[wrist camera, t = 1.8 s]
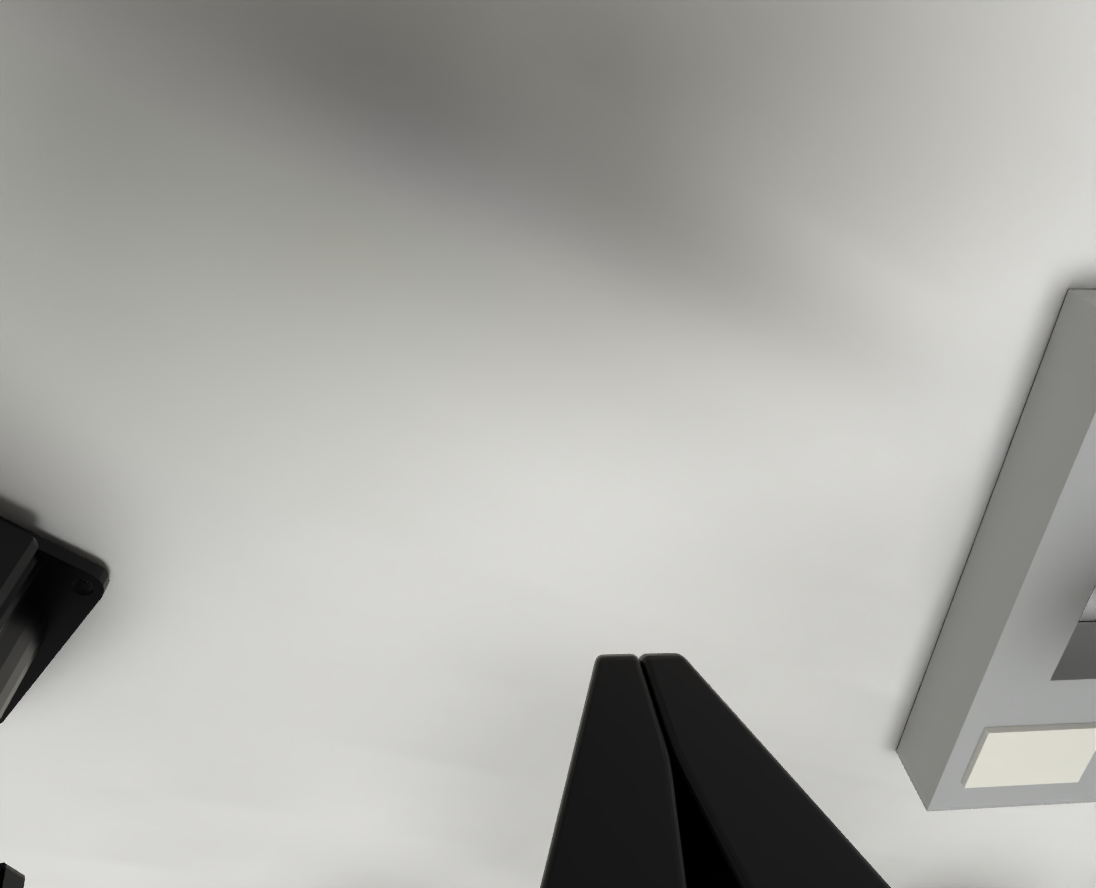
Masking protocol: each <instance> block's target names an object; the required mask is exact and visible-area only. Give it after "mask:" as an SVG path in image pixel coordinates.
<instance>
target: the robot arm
mask: <svg viewBox="0 0 1096 888" xmlns="http://www.w3.org/2000/svg"><path fill="white" fill-rule="evenodd" d="M81 579H82V580H86V581H88V582H89V583H91V584H92V585H88V584H84V583H82V582H81V581H80V580H81ZM109 581H110V580H109V574H108V573H107V572H106V570H105V569H104V568H102V567H101V566H100V565H98V564H96V563H94V562H92V561H90V560H88V559H86V558H84V557H82V556H80V555H78V554H76V553H74V552H72V551H70V550H68V549H66V548H64V547H62V546H60V545H58V544H56V543H54V542H51V541H49V540H47V539H45V538H43V537H41V536H39V535H37V534H35V533H33V532H31V531H29V530H27V529H25V528H23V527H21V526H19V525H17V524H15V523H13V522H11V521H9V520H7V519H5V518H3V517H1V516H0V723H2V722H3V721H4V720H5V718H6V717H7V716H8V715H9V713H10V712H11V711H12V710H13V708H14V707H15V706H16V705H17V703H18V702H19V701H20V700H21V698H22V697H23V696H24V695H25V693H26V692H27V691H28V690H29V688H30V687H31V686H32V684H33V683H34V682H35V681H36V679H37V678H38V677H39V676H40V674H41V673H42V672H43V671H44V669H45V668H46V667H47V666H48V664H49V663H50V662H51V661H52V659H53V658H54V657H55V655H56V654H57V653H58V652H59V650H60V649H61V648H62V647H63V645H64V644H65V643H66V642H67V640H68V639H69V638H70V637H71V635H72V634H73V633H74V632H75V630H76V629H77V628H78V626H79V625H80V624H81V623H82V621H83V620H84V619H85V618H86V616H87V615H88V614H89V613H90V611H91V610H92V609H93V608H94V606H95V605H96V604H97V603H98V601H99V600H100V599H101V597H102V596H103V594H104V592H105V590H106V588H107V586H108V584H109ZM24 881H25V876H24V875H23V874H21V873H20V872H18V871H16V870H15V869H13V868H12V867H10V866H9V865H7V864H5V863H0V888H24ZM540 888H891V887H890V886H889V885H888V884H887V883H886V882H885V881H884V879H883V878H882V877H881V876H880V875H879V874H878V873H877V872H876V871H875V869H874V868H873V867H872V866H871V865H870V864H869V863H868V862H867V860H866V859H865V858H864V857H863V856H862V855H861V854H860V853H859V852H858V850H857V849H856V848H855V847H854V846H853V845H852V844H851V843H850V842H849V840H848V839H847V838H846V837H845V836H844V835H843V834H842V833H841V831H840V830H839V829H838V828H837V827H836V826H835V825H834V824H833V823H832V821H831V820H830V819H829V818H828V817H827V816H826V815H825V814H824V812H823V811H822V810H821V809H820V808H819V807H818V806H817V805H816V804H815V802H814V801H813V800H812V799H811V798H810V797H809V796H808V795H807V794H806V792H805V791H804V790H803V789H802V788H801V787H800V786H799V785H798V783H797V782H796V781H795V780H794V779H793V778H792V777H791V776H790V775H789V773H788V772H787V771H786V770H785V769H784V768H783V767H782V766H781V764H780V763H779V762H778V761H777V760H776V759H775V758H774V757H773V756H772V754H771V753H770V752H769V751H768V750H767V749H766V748H765V747H764V746H763V744H762V743H761V742H760V741H759V740H758V739H757V738H756V737H755V735H754V734H753V733H752V732H751V731H750V730H749V729H748V728H747V727H746V725H745V724H744V723H743V722H742V721H741V720H740V719H739V718H738V716H737V715H736V714H735V713H734V712H733V711H732V710H731V709H730V708H729V706H728V705H727V704H726V703H725V702H724V701H723V700H722V699H721V698H720V696H719V695H718V694H717V693H716V692H715V691H714V690H713V689H712V687H711V686H710V685H709V684H708V683H707V682H706V681H705V680H704V679H703V677H702V676H701V675H700V674H699V673H698V672H697V671H696V670H695V668H694V667H693V666H692V665H691V664H690V663H689V662H688V661H687V660H686V659H685V658H684V657H683V656H682V655H680V654H677V653H655V654H644V655H642V656H640V657H639V659H638V657H637V656H635V655H634V654H607V655H600V656H598V657H597V658H596V661H595V664H594V668H593V672H592V676H591V680H590V684H589V688H588V692H587V697H586V701H585V705H584V709H583V713H582V717H581V721H580V725H579V729H578V734H577V738H576V742H575V746H574V750H573V754H572V758H571V762H570V767H569V771H568V775H567V779H566V783H565V787H564V791H563V795H562V800H561V804H560V808H559V812H558V816H557V820H556V824H555V828H554V833H553V837H552V841H551V845H550V849H549V853H548V857H547V861H546V865H545V870H544V874H543V878H542V882H541V886H540Z"/></svg>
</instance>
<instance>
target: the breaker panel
mask: <svg viewBox="0 0 1096 888" xmlns="http://www.w3.org/2000/svg"><path fill="white" fill-rule="evenodd" d="M1095 586H1096V289H1069V290H1068V293H1067V295H1066V298H1065V301H1064V303H1063V306H1062V309H1061V311H1060V314H1059V317H1058V319H1057V322H1056V325H1055V327H1054V330H1053V333H1052V336H1051V338H1050V341H1049V344H1048V346H1047V349H1046V352H1045V354H1044V357H1043V360H1042V362H1041V365H1040V368H1039V370H1038V373H1037V376H1036V378H1035V381H1034V384H1033V387H1032V389H1031V392H1030V395H1029V397H1028V400H1027V403H1026V405H1025V408H1024V411H1023V413H1022V416H1021V419H1020V421H1019V424H1018V427H1017V429H1016V432H1015V435H1014V437H1013V440H1012V443H1011V446H1010V448H1009V451H1008V454H1007V456H1006V459H1005V462H1004V464H1003V467H1002V470H1001V472H1000V475H999V478H998V480H997V483H996V486H995V488H994V491H993V494H992V497H991V499H990V502H989V505H988V507H987V510H986V513H985V515H984V518H983V521H982V523H981V526H980V529H979V531H978V534H977V537H976V539H975V542H974V545H973V548H972V550H971V553H970V556H969V558H968V561H967V564H966V566H965V569H964V572H963V574H962V577H961V580H960V582H959V585H958V588H957V590H956V593H955V596H954V598H953V601H952V604H951V607H950V609H949V612H948V615H947V617H946V620H945V623H944V625H943V628H942V631H941V633H940V636H939V639H938V641H937V644H936V647H935V649H934V652H933V655H932V658H931V660H930V663H929V666H928V668H927V671H926V674H925V676H924V679H923V682H922V684H921V687H920V690H919V692H918V695H917V698H916V700H915V703H914V706H913V708H912V711H911V714H910V717H909V719H908V722H907V725H906V727H905V730H904V733H903V735H902V738H901V741H900V743H899V746H898V749H897V751H896V752H897V754H898V756H899V758H900V760H901V762H902V764H903V766H904V768H905V770H906V772H907V774H908V776H909V778H910V780H911V781H912V783H913V785H914V787H915V789H916V791H917V793H918V795H919V797H920V799H921V801H922V803H923V805H924V807H925V809H926V810H927V811H941V810H959V809H977V808H995V807H1013V806H1032V805H1050V804H1068V803H1086V802H1096V622H1078V621H1079V619H1080V617H1081V615H1082V613H1083V611H1084V609H1085V607H1086V604H1087V602H1088V600H1089V598H1090V596H1091V594H1092V592H1093V590H1094V588H1095Z"/></svg>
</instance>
